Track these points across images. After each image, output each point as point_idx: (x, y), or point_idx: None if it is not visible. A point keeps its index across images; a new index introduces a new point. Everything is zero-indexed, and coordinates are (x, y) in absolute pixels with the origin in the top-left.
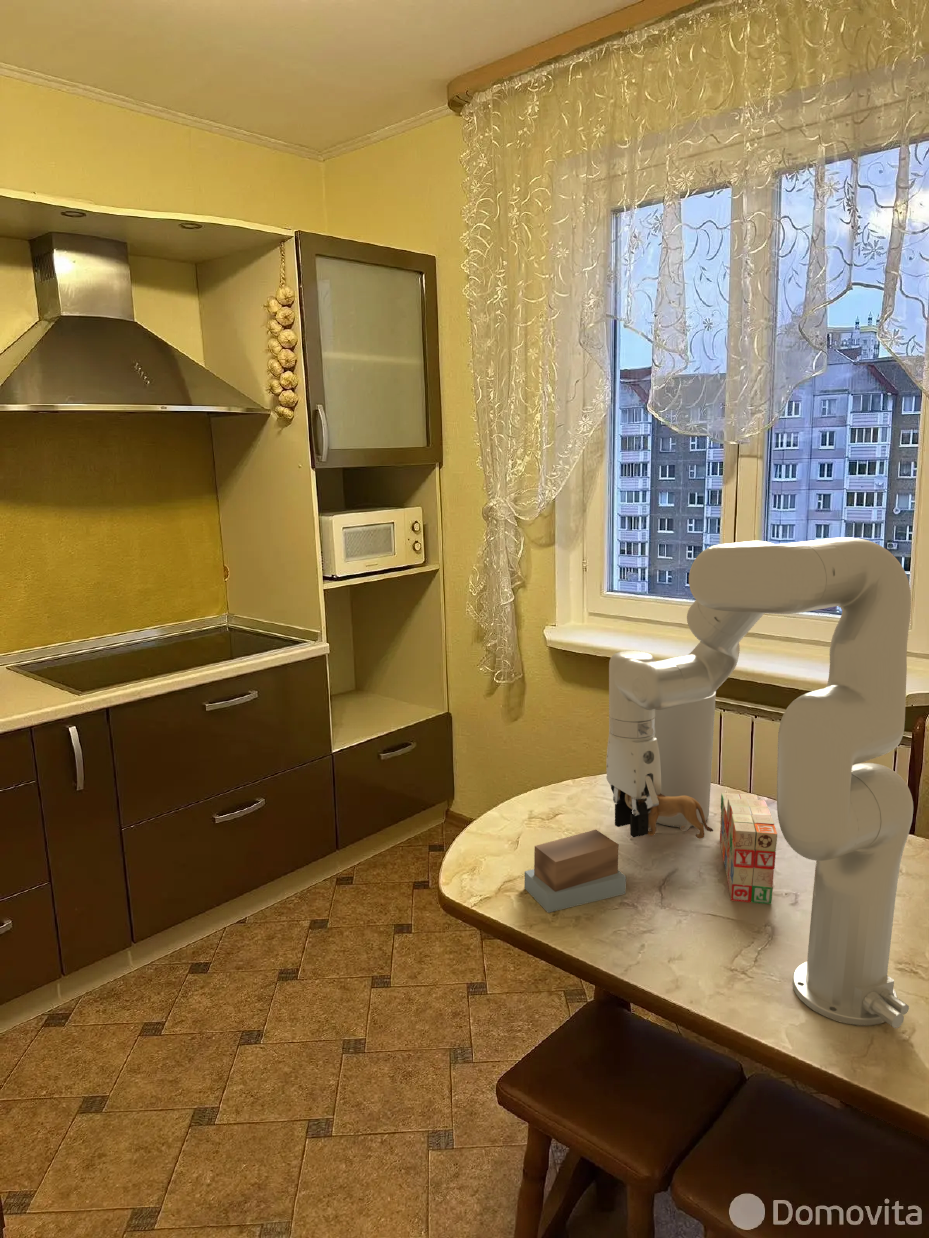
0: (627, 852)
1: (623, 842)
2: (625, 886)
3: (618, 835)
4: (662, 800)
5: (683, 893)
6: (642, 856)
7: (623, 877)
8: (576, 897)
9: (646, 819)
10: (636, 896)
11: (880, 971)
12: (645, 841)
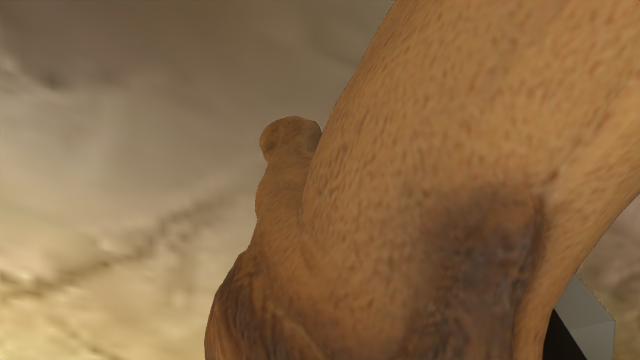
0: (217, 152)
1: (96, 137)
2: (586, 287)
3: (3, 137)
4: (581, 255)
5: None
6: (272, 90)
7: (612, 328)
8: None
9: (578, 349)
10: (605, 233)
11: None
12: (81, 3)
